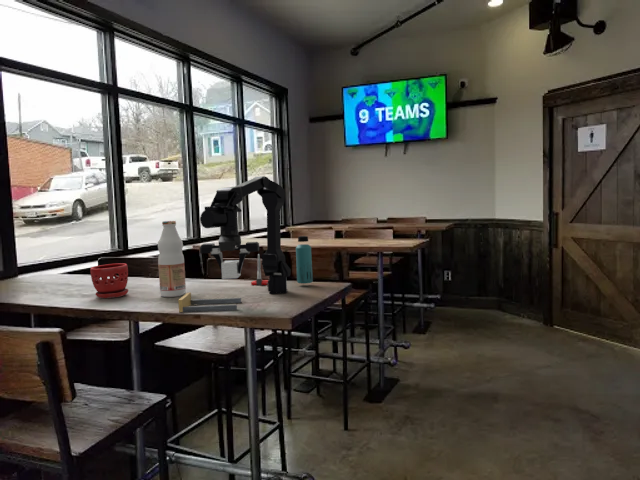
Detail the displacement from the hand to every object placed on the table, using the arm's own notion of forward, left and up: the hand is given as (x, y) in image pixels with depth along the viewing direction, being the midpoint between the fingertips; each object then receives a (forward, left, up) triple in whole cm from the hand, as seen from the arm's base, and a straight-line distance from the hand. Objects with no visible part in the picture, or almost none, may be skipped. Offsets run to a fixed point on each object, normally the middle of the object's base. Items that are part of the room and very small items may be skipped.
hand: (231, 273), depth 165 cm
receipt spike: (-6, -44, -11) cm, 46 cm away
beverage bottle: (-24, -34, -11) cm, 43 cm away
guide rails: (+7, 0, -11) cm, 13 cm away
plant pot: (+50, -27, -11) cm, 58 cm away
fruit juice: (+26, -25, -11) cm, 38 cm away
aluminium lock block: (0, 0, -1) cm, 1 cm away
